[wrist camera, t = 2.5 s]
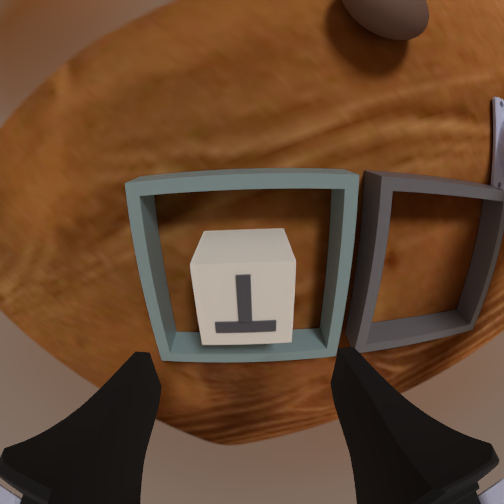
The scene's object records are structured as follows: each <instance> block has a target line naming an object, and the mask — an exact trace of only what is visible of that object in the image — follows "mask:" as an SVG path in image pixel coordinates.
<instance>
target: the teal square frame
mask: <svg viewBox="0 0 504 504" xmlns="http://www.w3.org/2000/svg"><path fill="white" fill-rule="evenodd" d="M288 188H316V189H332V192H331V213H330V230H329V244H328V256H327V268H326V278H325V288H324V297H323V306H322V314H321V322H320V328H311V329H296V330H292V342H288V343H270V344H243V345H202V341H201V335H200V332H177V331H176V326H175V321H174V317H173V312H172V307H171V302H170V297H169V292H168V286H167V281H166V275H165V269H164V263H163V257H162V251H161V244H160V237H159V230H158V222H157V215H156V206H155V197H154V195H157V194H170V193H183V192H199V191H218V190H242V189H288ZM125 189H126V197H127V205H128V212H129V219H130V225H131V231H132V237H133V243H134V249H135V254H136V259H137V264H138V269H139V274H140V279H141V283H142V288H143V292H144V296H145V301H146V305H147V309H148V313H149V317H150V321H151V324H152V328H153V332H154V335H155V339H156V342H157V346H158V349H159V353H160V356H161V359H162V361H180V362H265V361H284V360H299V359H311V358H322V357H331V356H336V353H337V349H338V344H339V339H340V334H341V328H342V323H343V317H344V312H345V306H346V300H347V293H348V287H349V280H350V272H351V265H352V257H353V248H354V239H355V229H356V217H357V204H358V189H359V175H358V174H356V173H353V172H350V171H348V170H345V169H321V168H256V169H228V170H209V171H194V172H181V173H169V174H159V175H149V176H140V177H138V178H136V179H133V180H131V181H129V182H126V183H125Z"/></svg>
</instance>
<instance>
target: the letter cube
mask: <svg viewBox="0 0 504 504" xmlns="http://www.w3.org/2000/svg"><path fill="white" fill-rule="evenodd" d="M190 270H191V277H192V284H193V291H194V298H195V305H196V311H197V317H198V324H199V329H200V335H201V341H202V345H243V344H270V343H288V342H292V329H293V313H294V295H295V274H296V260H295V257H294V254H293V252H292V249H291V247H290V244H289V241H288V239H287V236H286V234H285V231H284V228H276V229H243V230H217V231H204V232H203V234H202V237H201V239H200V241H199V244H198V246H197V249H196V251H195V253H194V256H193V258H192V260H191V263H190Z"/></svg>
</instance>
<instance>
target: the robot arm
mask: <svg viewBox="0 0 504 504" xmlns="http://www.w3.org/2000/svg"><path fill="white" fill-rule="evenodd" d="M492 104H493V159H492V173H491V186H494V187H497V188H500V189H502V190H504V100H502V99H500V98H499V97H493V99H492ZM331 388H332V394H333V399H334V404H335V408H336V411H337V414H338V417H339V421H340V424H341V427H342V430H343V433H344V436H345V439H346V443H347V446H348V449H349V453H350V457H351V462H352V468H353V474H354V481H355V489H356V498H357V504H504V478H502V479H501V480H499V481H498V482H497V483H495V484H494V485H492V486H491V487H489V488H488V489H486V490H485V491H483V492H482V493H481V494H479V495H477V493H476V490H478V489H479V485H478V483H477V482H478V481H479V480H480V479H481V478H483V477H484V476H485V475H486V474H488V473H489V472H490V471H491V470H492V469H494V468H495V467H496V466H497V465H498V463H499V458H498V456H497V454H496V452H495V450H494V448H493V447H492V445H491V444H490V443H487V442H484V441H481V440H478V439H475V438H472V437H469V436H467V435H464V434H462V433H460V432H458V431H455V430H453V429H451V428H449V427H447V426H445V425H444V424H442V423H440V422H439V421H437V420H435V419H433V418H432V417H430V416H429V415H427V414H426V413H424V412H423V411H421V410H420V409H419V408H417V407H416V406H414V405H413V404H412V403H411V402H409V401H408V400H407V399H405V398H404V397H403V396H402V395H401V394H400V393H399V392H398V391H396V390H395V389H394V388H393V387H392V386H391V385H390V384H389V383H388V382H387V381H386V380H385V379H384V378H383V377H382V376H381V375H380V374H379V373H378V372H377V371H376V370H375V369H374V368H373V367H372V366H371V365H370V364H369V363H368V362H367V361H366V360H365V358H364V357H363V356H362V355H361V354H360V353H359V352H358V351H357V350H356V349H355V348H354V347H347V348H339V349H338V353H337V358H336V362H335V367H334V371H333V375H332V380H331ZM160 393H161V384H160V381H159V379H158V376H157V373H156V370H155V367H154V364H153V361H152V359H151V355H150V353H147V352H135V353H134V354H133V355H132V356H131V357H130V358H129V359H128V360H127V361H126V362H125V363H124V364H123V365H122V366H121V368H120V369H119V370H118V371H117V372H116V373H115V374H114V375H113V376H112V377H111V378H110V379H109V380H108V381H107V382H106V383H105V384H104V385H103V386H102V387H101V388H100V389H99V390H98V391H97V392H96V393H95V394H94V395H93V396H92V397H91V398H90V399H89V400H88V401H87V402H85V403H84V404H83V405H82V406H81V407H80V408H78V409H77V410H76V411H75V412H73V413H72V414H71V415H69V416H68V417H67V418H65V419H64V420H62V421H61V422H59V423H58V424H56V425H55V426H53V427H51V428H50V429H48V430H46V431H45V432H42V433H41V434H39V435H37V436H35V437H33V438H30V439H28V440H26V441H24V442H21V443H18V444H15V445H13V446H10V447H7V448H5V449H4V451H3V453H2V455H1V457H0V478H2V479H3V480H4V481H6V482H7V483H8V484H10V485H11V486H12V487H14V488H15V489H16V490H18V491H19V492H21V493H22V494H23V497H22V499H21V498H20V497H18V496H17V495H15V494H14V493H12V492H11V491H9V490H8V489H6V488H5V487H3V486H2V485H0V504H140V494H141V481H142V473H143V464H144V459H145V454H146V450H147V446H148V443H149V439H150V435H151V432H152V428H153V425H154V421H155V418H156V414H157V411H158V406H159V400H160Z"/></svg>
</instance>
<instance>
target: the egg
mask: <svg viewBox="0 0 504 504" xmlns="http://www.w3.org/2000/svg"><path fill="white" fill-rule="evenodd" d="M342 3H343V5H344V6H345V8H346V10H347V11H348V13H349V14H350V15H351V16H352V17H353V18H354V19H355V20H356V21H357V22H358V23H359V24H360V25H361V26H363V27H364V28H366V29H367V30H369V31H370V32H372V33H374V34H376V35H379V36H381V37H384V38H387V39H392V40H409V39H412V38H415V37H417V36H419V35H420V34H421V33H422V32H423V31H424V30H425V28H426V27H427V24H428V20H429V10H428V6H427V3H426V0H342Z"/></svg>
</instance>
